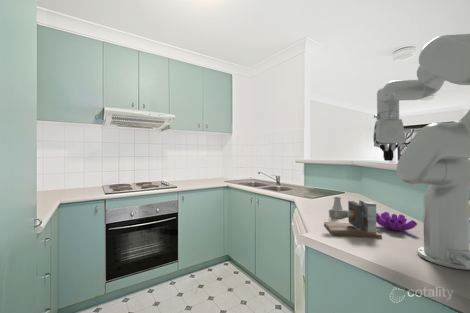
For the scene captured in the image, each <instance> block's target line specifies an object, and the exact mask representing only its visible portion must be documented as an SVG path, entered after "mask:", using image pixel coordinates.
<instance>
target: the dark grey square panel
mask: <svg viewBox="0 0 470 313" xmlns="http://www.w3.org/2000/svg"><path fill="white" fill-rule="evenodd" d="M347 201H348V202H347V203H348V204H347V206H348V208H347V210H354V218H347V219H348V223H351V224H352V225H353V226H354V227H356V228H357V229H362V205H360V204H359V203H358V202H356V201H355V200H347Z"/></svg>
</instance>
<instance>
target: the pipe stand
mask: <svg viewBox="0 0 470 313" xmlns="http://www.w3.org/2000/svg"><path fill="white" fill-rule="evenodd" d="M358 202H359V203H358V204H360V205H362V229H357V228H356V227H354V226H353V225H352V224H351V223H349V222H334V221H333V222H332V221H331V222H330V221H324V222H323V224H324V226H325V228H326V229H327V230H328V231H329V233H331V235H332V236H333V237H349V238H364V237H367V239H383V236H382V235H383V234H381V233H379V232H378V231H377V222H376V213H377V203H375V202H372V201H370V200H367V199H359V200H358ZM328 216H329V217H330V218H334V217H344V218H343V219H345V218H347V219H348V218H354V210H348V209H343V210H332V209H329V210H328Z"/></svg>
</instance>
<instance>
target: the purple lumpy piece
mask: <svg viewBox="0 0 470 313" xmlns="http://www.w3.org/2000/svg"><path fill="white" fill-rule="evenodd" d="M407 220H408V219H407V218H406V217H405V215H404V214H398V215H397V213H392V214H390V213H389V212H388V211H387V212H386V211H385V212H382V213H380V214H379V213H378V212H376V224H378V225H379V226H381V227H384V228H385V229H389V230H394V231H410V230H412V229H414V228H415V227H417V226H418V223H417V222H416V221H415V220H410V221H408V222H407Z"/></svg>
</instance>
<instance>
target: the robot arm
mask: <svg viewBox="0 0 470 313" xmlns="http://www.w3.org/2000/svg"><path fill="white" fill-rule="evenodd" d="M418 64H419V65H418V67H417V70H416V77H417V79H403V80H402V79H399V80H391V81H389V82H387V83H386V84H385V85H384V86H383V87H381V88H379V89H378V90H377V93H376V114H374V115H373V118H374V119H376V121H374V122H375V123H374V126H373V127H374V128H373V136H372V137H373V147H376V148H379V149H380V150H381V151H382V153H383V156H382V157H383V160H384V161H386V162H387V161H388V162H391V161H394V160H393V159H394V152H395V151H396V149H397V148H400V147H403V146H404V143H405V142H406V141H405V139H406V136H405V135H406V134H405V127H404V123H403V119H402V118H400V101H418V100H423V99H426V98H428V97H430V96H432V95H434V94H436V93H438V92H439V91H440V90H441V88H442V87H443V85H444V83H445V82H449V83H450V84H453V85H458V86H459V85H460V86H470V33H461V34H457V33H456V34H445V35H440V36H437V37H435V38H433V39H432V40H430V41H428V42H427V43H426V44H425V45H424V46H423V48H422V49H421V51H420V53H419V55H418ZM404 149H405V150H404V151H403V152H402V154H401V156H400V158H399V159H398V161H397V164H396V175H397V177H398V178H399V180H401V181H402V182H404V183H405V184H408V185H409V184H410V185H422V186H424V185H426V186H427V185H429V186H428V187H427V189H426V190H425V192H424V195H423V202H422V203H423V207H422V208H423V209H422V210H423V213H422V214H423V246H420V247H418V248H417V251H416V252H417V254H418V255H419V257H421V258H422V259H425V260H426V261H429V262H430V263H433V264H436V265H439V266H443V267H446V268H451V269H456V270H464V271H465V270H467V271H470V217H469V216H470V212H469V211H470V207H469V206H470V203H469V201H470V109H469V110H468V111H467V112H466V113H465V115H464V116H463V117H462V118H460V119H459V120H458V121H452V122H450V121H449V122H448V121H447V122H436V123H435V122H434V123H430V124H427V125H425V126H423V127H422V128H421V129H419V130H418V131H417V132H416V133H415V135H414V136H413V137H412V139H411V140H410V142H409V143H408V145H407V146H406V148H404Z"/></svg>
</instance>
